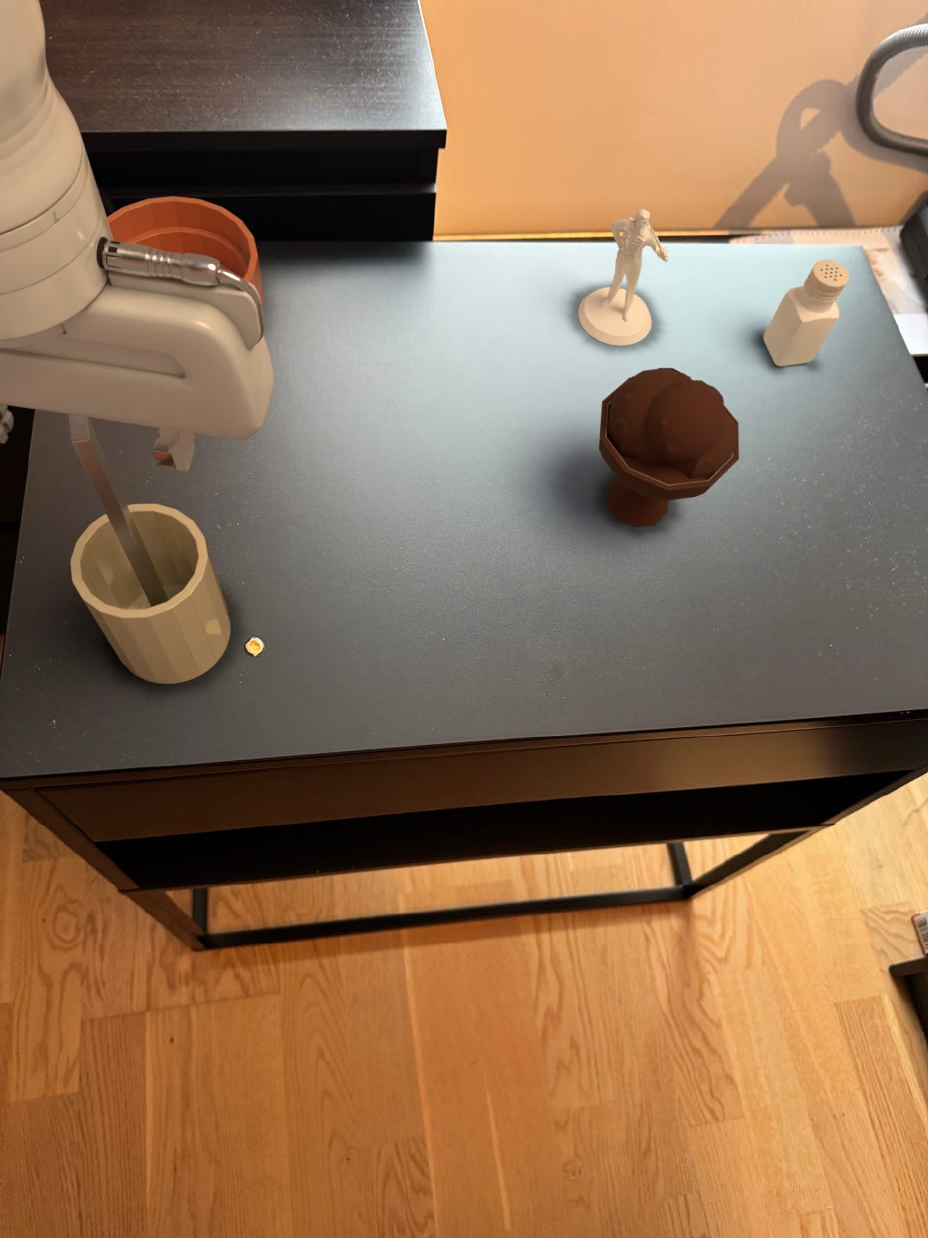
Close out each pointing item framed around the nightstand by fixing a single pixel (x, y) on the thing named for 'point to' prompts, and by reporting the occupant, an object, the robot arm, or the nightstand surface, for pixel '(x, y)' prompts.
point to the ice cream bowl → (664, 442)
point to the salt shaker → (806, 315)
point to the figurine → (617, 309)
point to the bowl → (190, 233)
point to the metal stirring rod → (116, 509)
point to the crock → (160, 635)
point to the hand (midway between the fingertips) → (87, 445)
